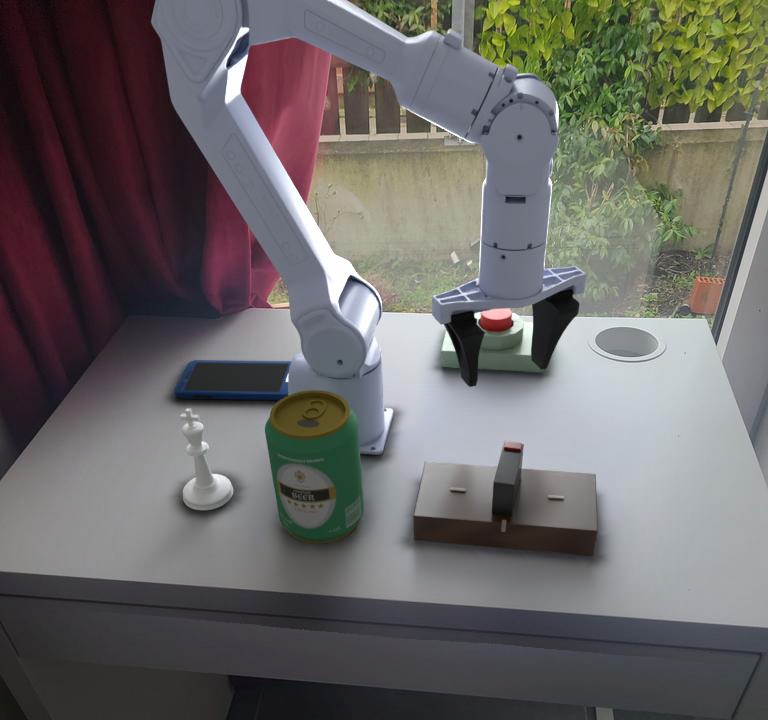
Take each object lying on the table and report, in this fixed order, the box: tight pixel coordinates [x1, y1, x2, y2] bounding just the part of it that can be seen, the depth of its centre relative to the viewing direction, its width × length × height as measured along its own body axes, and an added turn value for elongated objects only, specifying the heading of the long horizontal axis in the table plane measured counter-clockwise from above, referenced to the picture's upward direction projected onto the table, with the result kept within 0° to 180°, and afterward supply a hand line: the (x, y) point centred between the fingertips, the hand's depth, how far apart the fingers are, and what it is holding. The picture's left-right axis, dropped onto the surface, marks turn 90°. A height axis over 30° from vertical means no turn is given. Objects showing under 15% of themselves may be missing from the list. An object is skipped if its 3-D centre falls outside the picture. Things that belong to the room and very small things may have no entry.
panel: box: [412, 460, 599, 557], centre depth 75 cm, size 16×10×3 cm, turn 80°
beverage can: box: [264, 390, 365, 545], centre depth 73 cm, size 8×8×12 cm
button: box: [480, 308, 513, 332], centre depth 95 cm, size 4×4×2 cm
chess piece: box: [179, 407, 234, 511], centre depth 77 cm, size 5×5×10 cm
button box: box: [440, 312, 545, 373], centre depth 97 cm, size 12×8×4 cm, turn 80°
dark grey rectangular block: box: [492, 440, 525, 516], centre depth 73 cm, size 6×2×4 cm, turn 165°
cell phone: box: [173, 359, 292, 401], centre depth 95 cm, size 7×14×1 cm, turn 85°
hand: (504, 372), depth 79 cm, fingers open, 7 cm apart
